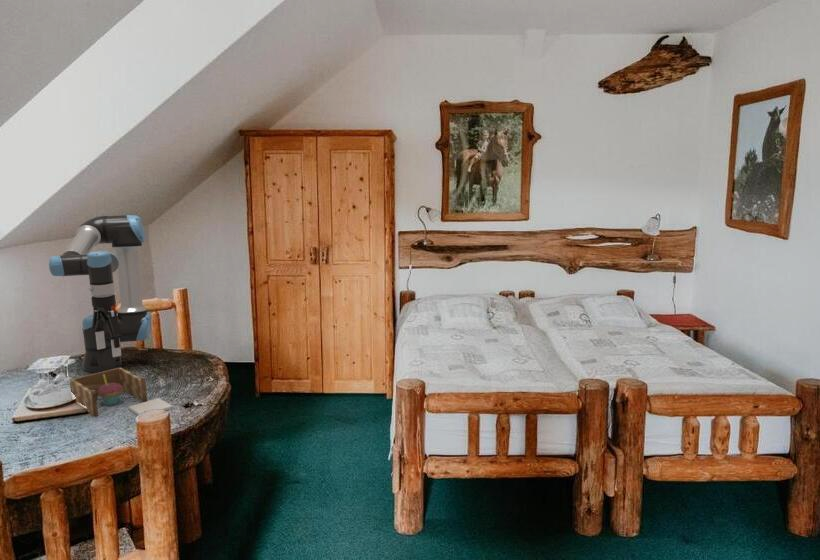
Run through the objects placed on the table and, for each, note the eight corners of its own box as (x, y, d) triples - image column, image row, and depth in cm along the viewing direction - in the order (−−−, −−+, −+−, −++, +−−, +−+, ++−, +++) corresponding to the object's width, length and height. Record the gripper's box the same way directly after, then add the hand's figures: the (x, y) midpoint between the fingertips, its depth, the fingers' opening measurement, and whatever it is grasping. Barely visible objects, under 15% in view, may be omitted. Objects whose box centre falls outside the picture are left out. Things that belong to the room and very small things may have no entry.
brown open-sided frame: (71, 399, 225) (69, 376, 223) (122, 386, 238) (120, 364, 237) (94, 416, 210) (91, 391, 208) (147, 401, 223) (145, 377, 221)
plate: (128, 409, 216) (128, 406, 216) (159, 400, 224) (158, 398, 224) (142, 418, 209) (141, 415, 209) (172, 408, 217) (172, 405, 216)
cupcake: (107, 408, 217) (103, 376, 215) (93, 403, 221) (90, 372, 219) (129, 400, 224) (126, 369, 222) (115, 396, 229) (112, 365, 226)
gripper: (78, 292, 221) (84, 348, 225) (106, 302, 205) (112, 362, 209) (99, 288, 227) (105, 343, 231) (128, 298, 210) (134, 356, 214)
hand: (109, 352), depth 220 cm, fingers open, 13 cm apart
